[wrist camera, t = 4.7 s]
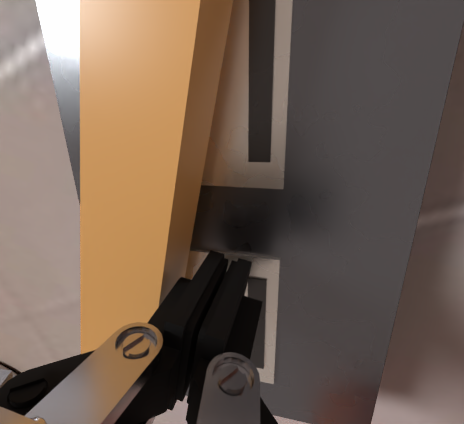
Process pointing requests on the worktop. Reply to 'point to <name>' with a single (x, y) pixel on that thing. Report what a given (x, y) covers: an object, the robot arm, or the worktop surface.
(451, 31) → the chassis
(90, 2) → the light orange bar
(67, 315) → the worktop surface
